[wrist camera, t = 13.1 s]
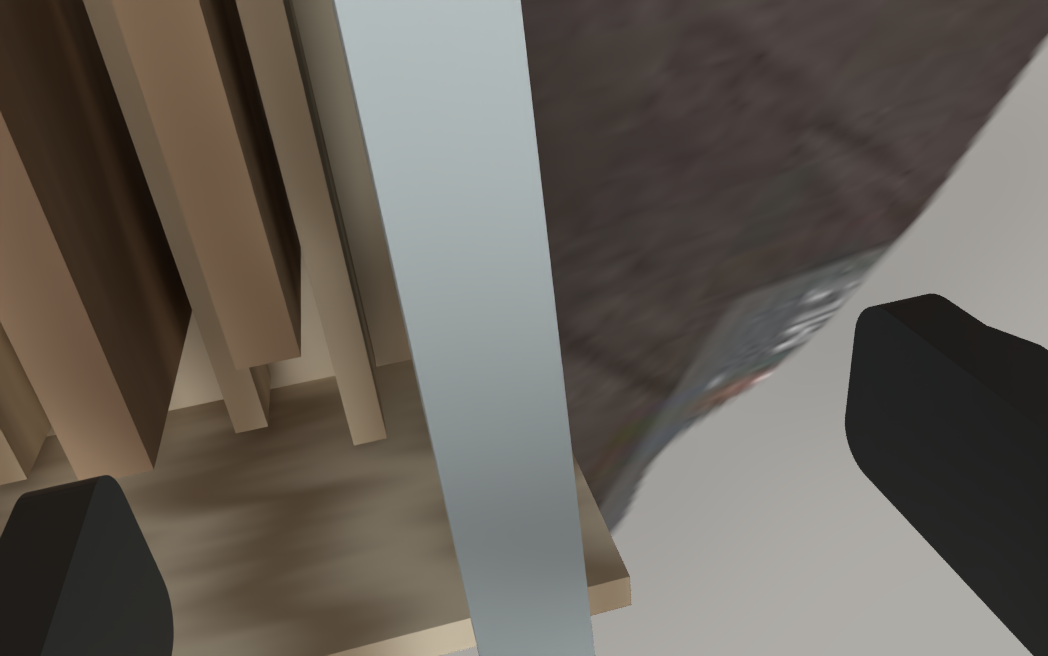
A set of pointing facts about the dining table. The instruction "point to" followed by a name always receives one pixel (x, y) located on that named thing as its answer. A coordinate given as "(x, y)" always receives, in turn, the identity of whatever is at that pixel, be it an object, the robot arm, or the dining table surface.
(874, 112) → the dining table surface
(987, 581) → the robot arm
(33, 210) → the offcut
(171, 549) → the rack
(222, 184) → the offcut
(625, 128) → the dining table surface
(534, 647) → the blue-grey flat rectangular block
